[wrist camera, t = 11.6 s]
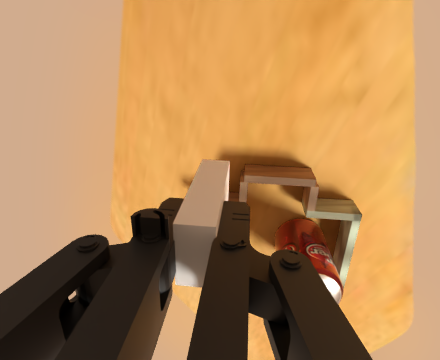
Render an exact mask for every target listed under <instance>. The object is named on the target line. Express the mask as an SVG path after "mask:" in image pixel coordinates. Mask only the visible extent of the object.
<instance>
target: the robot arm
mask: <svg viewBox="0 0 440 360" xmlns="http://www.w3.org/2000/svg"><path fill="white" fill-rule="evenodd" d="M229 170H230V161H223V160H206V159H202V161H201V163H200V166H199V168H198V170H197V172H196V174H195V176H194V179H193V181H192V183H191V185H190V187H189V190H188V192H187V194H186V196H185V198H184V199H182V198H168V199H167V200H165V201H164V202H162V203H161V205H160V207H159V209H156V208H150V209H143V210H140V211H138V212H135V213H134V214H133V215H132V216H131V223H132V232H133V237H132V239H131V240H130V242H128V243H123V244H116V245H109V242H108V240H107V238H106V237H104V236H102V235H87V236H83V237H80V238H78V239H76V240H74V241H72V242H71V243H70V244H68V245H67V246H65V247H64V248H63V249H61V250H60V251H59V252H57V253H56V254H54V255H53V256H52V257H50V258H49V259H48V260H46V261H45V262H43V263H42V264H41V265H39V266H38V267H37V268H35V269H34V270H32V271H31V272H30V273H28V274H27V275H26V276H25V277H23V278H22V279H20V280H19V281H18V282H16V283H15V284H13V285H12V286H11V287H9V288H8V289H6V290H5V291H4V292H2V293H1V294H0V360H151V359H152V356H153V353H154V350H155V347H156V344H157V341H158V337H159V334H160V331H161V328H162V325H163V322H164V319H165V316H166V313H167V309H168V307H169V304H170V301H171V297H172V282H173V279H174V276H175V284H176V285H182V286H192V287H202V291H201V296H200V301H199V305H198V310H197V314H196V319H195V324H194V328H193V333H192V338H191V342H190V347H189V352H188V356H187V360H247V355H248V312H249V313H251V314H254V315H256V316H259V317H261V318H263V320H264V325H265V329H266V332H267V335H268V338H269V341H270V344H271V347H272V351H273V354H274V357H275V360H372V358H371V356H370V355H369V353H368V352H367V350H366V348H365V347H364V345H363V344H362V342H361V340H360V339H359V337H358V336H357V334H356V333H355V331H354V329H353V328H352V326H351V325H350V323H349V321H348V320H347V318H346V317H345V315H344V313H343V312H342V310H341V309H340V307H339V305H338V304H337V302H336V301H335V299H334V297H333V296H332V294H331V293H330V291H329V290H328V288H327V286H326V285H325V283H324V282H323V280H322V278H321V277H320V275H319V274H318V272H317V270H316V269H315V267H314V266H313V264H312V262H311V261H310V260H309V259H308V258H307V257H306V256H305V255H304V254H302V253H300V252H298V251H294V250H288V249H283V250H278V251H276V252H274V253H273V254H272V255H271V257H270V256H267V255H264V254H262V253H259V252H258V251H256V250H255V249H254V248H253V247H252V246H251V244H250V241H249V233H250V207H249V206H248V205H247V203H246V202H236V201H228V194H229ZM75 290H76V296H75V297H73V298H72V299H70V300H69V299H68V296H69V295H71V294H72V293H73V292H74V291H75Z"/></svg>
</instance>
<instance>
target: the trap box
mask: <svg viewBox="0 0 440 360" xmlns="http://www.w3.org/2000/svg"><path fill="white" fill-rule="evenodd" d="M248 183H261V184H277V185H292V186H304V191H303V198H302V206H303V209H304V212H305V216H306V217H308V218H322V219H335V220H341V223H340V227H339V232H338V236H337V241H336V246H335V250H334V255H333V261H334V264H335V266H336V269H337V272H338V274H339V277H340V280H341V282H342V285H343V289H344V285H345V281H346V277H347V273H348V269H349V265H350V261H351V257H352V253H353V249H354V245H355V241H356V237H357V233H358V229H359V225H360V221H361V217H362V214H361V212H360V211H359V209H358V208H357V206H356V205H355V203H354V201H353V200H339V199H324V198H317V196H318V191H319V186H318V184H317V182H316V178H315V176H314V174H313V172H312V170H311V168H300V167H284V166H267V165H250V164H245V171H241V178H240V193H236V192H229V194H228V201H236V202H247V188H248Z"/></svg>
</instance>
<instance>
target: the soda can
mask: <svg viewBox="0 0 440 360" xmlns="http://www.w3.org/2000/svg"><path fill="white" fill-rule="evenodd" d="M283 249H288V250H294V251H298V252H300V253H302V254H304V255H305V256H306V257H307V258H308V259H309V260H310V261H311V262H312V264H313V266H314V267H315V269H316V270H317V272H318V274H319V275H320V277H321V278H322V280H323V282H324V283H325V285H326V286H327V288H328V290H329V291H330V293H331V294H332V296H333V297H334V299H335V301H336V302H337V304H339V303H340V301H341V299H342V296H343V285H342V282H341V280H340V277H339V274H338V272H337V269H336V266H335V264H334V261H333V258H332V256H331V253H330V250H329V248H328V245H327V242H326V240H325V237H324V234H323V232H322V230H321V228H320V227H319V226H318V225H317V224H316V223H314V222H312V221H310V220H307V219H292V220H289V221H287V222H285V223H284V224H282V225H281V226H280V227H279V228H278V230H277V232H276V234H275V250H276V251H278V250H283Z"/></svg>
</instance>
